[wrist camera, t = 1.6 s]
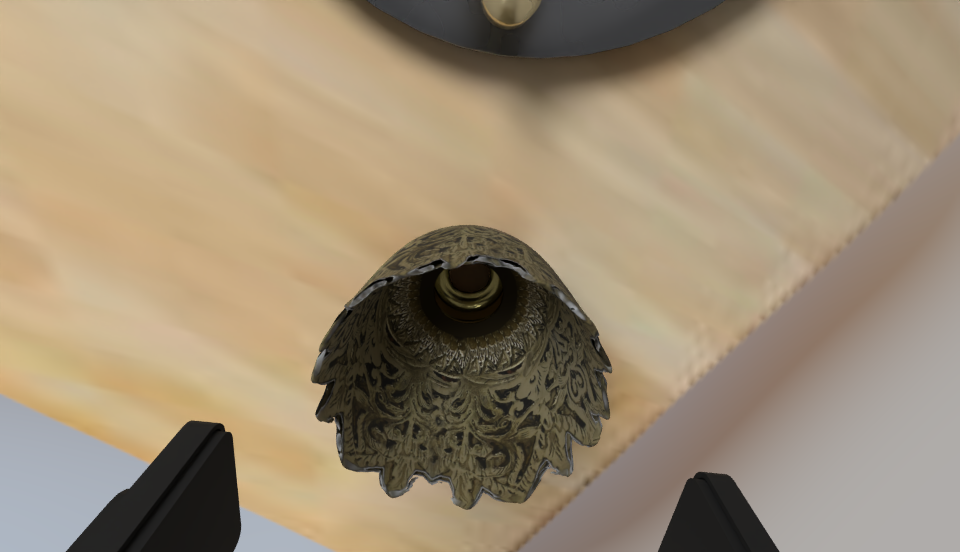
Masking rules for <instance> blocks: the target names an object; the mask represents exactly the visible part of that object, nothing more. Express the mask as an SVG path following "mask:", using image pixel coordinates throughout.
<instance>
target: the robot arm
mask: <svg viewBox="0 0 960 552" xmlns="http://www.w3.org/2000/svg"><path fill="white" fill-rule="evenodd" d="M240 532H241V519H240V508H239V498H238V488H237V477H236V467H235V457H234V447H233V437H232V434H231V432H225V428H224V426H223V424H220V423H211V422H201V421H189V422H187V423H186V424H185V425H184V426H183V427H182V428H181V430H180V431H179V432H178V433H177V434H176V435H175V437H174V438H173V439H172V440H171V441H170V442H169V444H168V445H167V446H166V447H165V448H164V449H163V451H162V452H161V453H160V454H159V455H158V456H157V458H156V459H155V460H154V461H153V462H152V463H151V464H150V466H149V467H148V468H147V469H146V470H145V472H144V473H143V474H142V475H141V476H140V477H139V478H138V480H137V481H136V482H135V483H134V485H132V487H131V488H130V489H126V490H124V491H122V492H120V493H118V494H117V495H116V496H115V497H114V498H113V499H112V500H111V501H110V502H109V503H108V504H107V506H106V507H105V508H104V509H103V510H102V511H101V512H100V513H99V515H98V516H97V517H96V518H95V519H94V520H93V521H92V523H91V524H90V525H89V526H88V527H87V528H86V529H85V530H84V532H83V533H82V534H81V535H80V536H79V537H78V538H77V540H76V541H75V542H74V543H73V544H72V545H71V546H70V547H69V549H68V550H67V551H66V552H233V551H234V549H235V547H236V545H237V543H238V540H239V537H240ZM658 552H779V550H778V549H777V547H776V546H775V544H774V543H773V541H772V539H771V538H770V536H769V535H768V533H767V532H766V530H765V528H764V527H763V525H762V524H761V522H760V521H759V519H758V517H757V516H756V515H755V513H754V511H753V510H752V508H751V507H750V505H749V504H748V502H747V500H746V499H745V497H744V496H743V494H742V493H741V491H740V489H739V488H738V487H737V485H736V483H735V482H734V480H733V479H732V478H731V477H730V476H728V475H727V474H717V473H707V472H698V473H696V475H695V476H694V478H690V479H688V480H687V482H686V484H685V487H684V489H683V492H682V494H681V497H680V499H679V502H678V504H677V507H676V509H675V511H674V514H673V516H672V519H671V521H670V523H669V526H668V528H667V531H666V534H665V536H664V538H663V541H662V543H661V545H660V548H659V550H658Z"/></svg>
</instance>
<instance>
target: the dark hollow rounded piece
mask: <svg viewBox="0 0 960 552" xmlns="http://www.w3.org/2000/svg"><path fill="white" fill-rule="evenodd" d="M475 263H482V264H485V265H487V266H488V268H489V271H490V278H489V281H488V283H487V285H486V286H485V287H484V288H483V289H482V290H480V291H478V292H475V293H465V292H461V291H459V290H458V289H456V288H455V287H454V286H453V285H452V283H451V281H450V278H449V271H450V269H454V268H458V267H460V266H461V265H466V264H475ZM344 307H345V309H344V310H343V311H342V312H341V313H340V314H339V315H338V317H337V318H336V320H335V321H334V323H333V325H332V326H331V328H330V329H329V331H328V332H327V334H326V336H325V337H324V339H323V341H322V343H321V345H320V348H319V351H320V352H321V353H320V354H319V355H318V358H317V361H316V364H315V367H314V370H313V372H312V377H311V380H312V382H313V383H318V384H320V385H326V384H327V386H326V389H325V392H324V395H323V396H322V399H321V401H320V403H319V405H318V407H317V410H316V414H315V415H316V418H317V419H318V420H319V421H321V422H322V421H324V422H327V423H332V422H333V421H334V418H333V417H335V423H336V426H337V433H336V444H337V449H338V453H339V457H340V460H341V463H342V465H343V466H344V467H345V468H346V469H348V470H352V471H356V472H379V480H380V485H381V487H382V489H383V490H384V491H385V493H386V494H387V495H388V496H389V497H391V498H396V497H399V496H401V495H403V494H404V493H405V492H407V491H409V489H410V488H411V487H412V486H413V485H412V483H413V482H415V480H416V479H418V477H415V478H412V479H411V477H412V476H413V475H418V476H423V477H424V478H425V479H426V480H427V481H428V482H429V483H430V484H431V485H433V484H435V483H438V482H436V481H439V480H440V481H444V482H448V483H449V485H450V487H451V490H452V493H453V498H451V500H452V501H453V503H454V504H455V505H457V506H459V507H461V508H463V509H466V510H468V509H471V508H472V507H474V506H475V505H476V504H477V502H478V501H479V499H480V498H481V496H482V494H483V492H484V493H485V494H487V495H489V496H490V497H491V498H493V499H495V500H497V501H502V502H510V503H523V502H525V501H526V500H527V499H528V498H529V497H530V496H531V494H532V493H533V492H534V490H535V489H536V487H537V486H538V484H539V482H540V481H541V477H542V476H543V474H544V472H545V471H546V470H547V469H548V468H549V469H550V468H551V467H549V464H550V465H551V466H552V469H555V470H556V471H557V472H551V473H554V474H555V473H556V474H559V475H562V476H567V477H569V476H570V475H571V474H572V472H573V456H572V439H573V440H574V441H575V442H577V443H578V444H580V445H582V446H584V445H585V446H587V447H592V446H595V445H596V444H597V443H598V441H599V439H600V434H601V431H602V423H601V421H600V417H602V418H604V419H609V418H610V409H609V402H608V397H607V392H606V391H607V382H606V379H605V377H604V375H603V373H602V372H603V371H604V372H609V373H612V367H611V364H610V361H609V359H608V357H607V355H606V353H605V351H604V349H603V347H602V345H601V344H600V341H599V338H598V336H599V333H598V331H597V329H596V327H595V325H594V324H593V322H592V321H591V320H590V319H589V318H588V316H587V315H586V314H585V313H584V312H583V310H582V309H581V307H580V306H579V304H578V303H577V302H576V300H575V299H574V297H573V296H572V294H571V293H570V292H569V290H568V289H567V288H566V286H565V285H564V283H563V282H562V281H561V279H560V278H559V277H558V275H557V274H556V273H555V272H554V270H553V269H552V268H551V267H550V265H549V264H548V263H547V262H546V261H545V260H544V259H543V258H542V257H541V256H540V255H539V254H538V253H537V252H535V251H534V250H533V249H532V248H531V247H529V246H528V245H527V244H525V243H523V242H522V241H520V240H519V239H517V238H515V237H513V236H511V235H509V234H507V233H505V232H502V231H499V230H496V229H492V228H488V227H483V226H475V225H459V226H451V227H446V228H441V229H438V230H435V231H431V232H429V233H427V234H424V235H422V236H420V237H418V238H416V239H414V240H413V241H411V242H409V243H408V244H406V245H405V246H404V247H403V248H401V249H400V250H399V251H397V252H396V253H395V254H394V255H393V256H392V257H390V258H389V259H388V260H387V261H386V262H385V263H384V264H383V265H382V266H381V267H380V268H379V269H378V270H377V272H376V273H375V274H374V275H373V276H372V277H371V278H370V279H369V280H368V282H367V283H366V284H365V285H364V286H363V287H362V288H361V290H360V291H359V292H358V293H357V294H356V295H355V296H354V298H352V299H351V300H350V301H349V302H348V303H347V304H346V305H345V306H344ZM599 416H600V417H599ZM410 479H411V481H410V482H409V480H410ZM440 483H442V482H440ZM407 487H408V488H407ZM406 488H407V489H406Z"/></svg>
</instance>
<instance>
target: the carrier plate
mask: <svg viewBox="0 0 960 552" xmlns="http://www.w3.org/2000/svg"><path fill="white" fill-rule="evenodd" d="M367 1H368V2H370V3H371V4H372V5H374V6H375V7H376V8H378V9H380V10H381V11H383V12H385V13H387V14H388V15H390V16H392V17H394V18H396V19H398V20H399V21H401V22H403V23H405V24H407V25H409V26H410V27H412V28H414V29H416V30H418V31H420V32H422V33H424V34H427V35H429V36H432V37H434V38H437V39H440V40H442V41H445V42H448V43H450V44H453V45H456V46H458V47H461V48H466V49H470V50H475V51H479V52H484V53H488V54H493V55H497V56H508V57H521V58H535V59H542V58H556V57H570V56H581V55H587V54H592V53H596V52H601V51H606V50H610V49H615V48H620V47H624V46H629V45H631V44H634V43H637V42H640V41H642V40H645V39H648V38H651V37H653V36H656V35H659V34H662V33H664V32H667V31H670V30H672V29H674V28H676V27H678V26H680V25H682V24H684V23H686V22H688V21H690V20H692V19H694V18H695V17H697V16H699V15H701V14H703V13H705V12H707V11H709V10H711V9H713V8H715V7H716V6H718V5H719V4H721V3H722V2H723V1H725V0H367Z"/></svg>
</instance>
